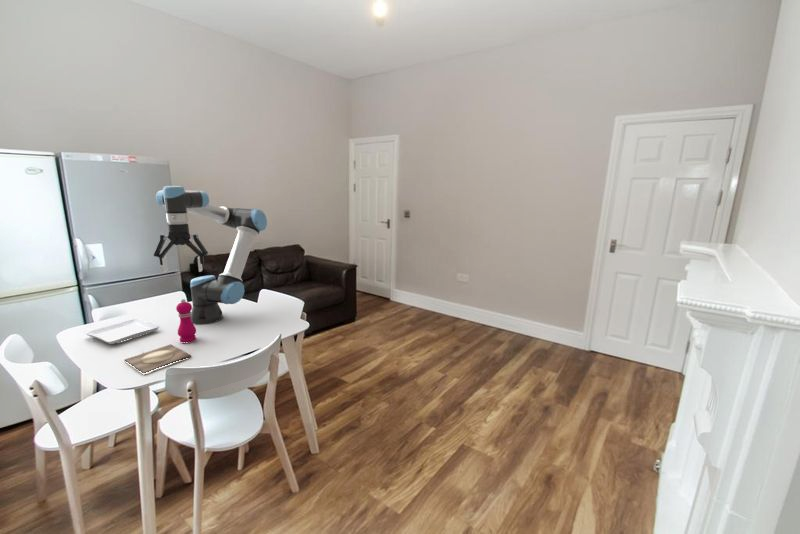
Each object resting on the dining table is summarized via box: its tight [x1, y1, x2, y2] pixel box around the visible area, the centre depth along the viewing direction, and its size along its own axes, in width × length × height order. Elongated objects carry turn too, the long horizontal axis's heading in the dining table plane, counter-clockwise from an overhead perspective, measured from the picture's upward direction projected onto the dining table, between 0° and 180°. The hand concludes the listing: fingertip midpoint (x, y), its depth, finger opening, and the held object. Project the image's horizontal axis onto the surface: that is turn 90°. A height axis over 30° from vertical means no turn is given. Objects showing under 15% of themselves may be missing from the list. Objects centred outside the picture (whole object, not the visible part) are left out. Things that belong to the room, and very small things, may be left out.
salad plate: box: [85, 318, 160, 345], centre depth 163 cm, size 21×21×3 cm
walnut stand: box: [124, 343, 192, 373], centre depth 141 cm, size 17×17×2 cm
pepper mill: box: [175, 298, 197, 344], centre depth 157 cm, size 7×7×20 cm
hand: (183, 271), depth 152 cm, fingers open, 13 cm apart
